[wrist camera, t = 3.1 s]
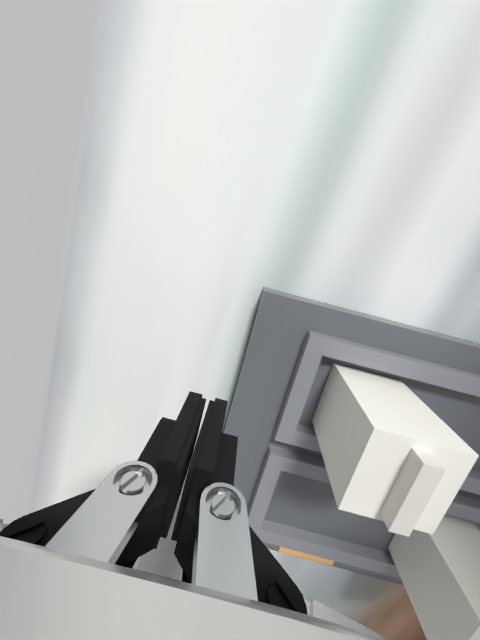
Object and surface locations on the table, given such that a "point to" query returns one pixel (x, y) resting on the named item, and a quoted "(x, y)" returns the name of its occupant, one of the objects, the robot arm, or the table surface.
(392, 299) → the table surface
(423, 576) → the tab
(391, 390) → the tab
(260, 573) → the robot arm
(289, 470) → the switch bank
